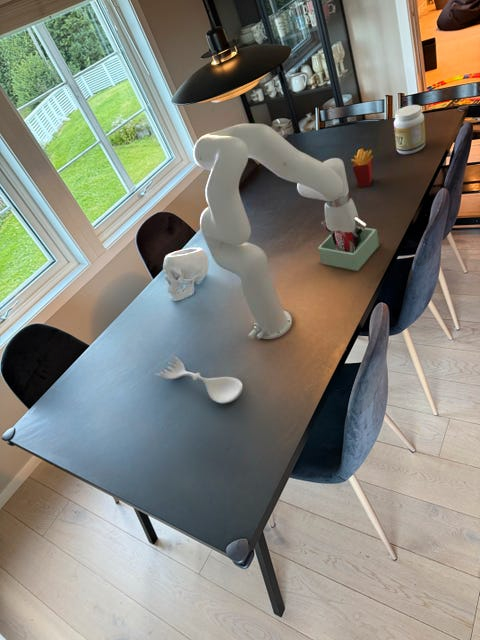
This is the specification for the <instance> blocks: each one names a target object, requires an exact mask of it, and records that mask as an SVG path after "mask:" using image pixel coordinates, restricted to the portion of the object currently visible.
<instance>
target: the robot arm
mask: <svg viewBox="0 0 480 640" xmlns="http://www.w3.org/2000/svg"><path fill="white" fill-rule="evenodd" d="M192 155H193V159H194V162H195V163H196V165H197V166H198V167H200V168H201V169H203V170H206V171H210V173H209V176H208V179H207V182H206V186H205V199H206V202H207V205H208V206H207V207H205V209H204V210H203V211H202V213H201V215H200V220H199V227H200V232H201V234H202V237H203V240H204V242H205V244H206V246H207V248H208V251H209V253H210V255H211V257H212V259H213V261H214V262H215V264H216V265H217V266H219V267H220V268H222V269H224V270H226V271H229V272H231V273H232V274H235V275H236V276H238V278H239V279H240V289H241V292H242V294H243V297H244V299H245V301H246V303H247V306H248V308H249V310H250V312H251V315H252V316H253V319H254V322H253V330H252V331H250V332H249V333H248V335H247V338H249V340H251V341H253V340H254V339H255V338H257V339H258V340H260V339H263V340H275V339H277V338H280V337H282V336H283V335H285V334H286V333H287V332H288V331H289V330H290V329H291V327H292V325H293V319H292V316H291V314H290V312H288V311H287V310H284V308H283V306H282V303H281V300H280V297H279V295H278V292H277V289H276V286H275V284H274V282H273V279H272V277H271V272H270V268H269V262H268V257H267V255H266V252H265V251H264V250H263V249H262V248H261V247H259V246H258V245H256V244H254V243H251V242H248V241H249V239H250V238H251V234H252V228H251V224H250V221H249V218H248V215H247V212H246V209H245V207H244V204H243V201H242V198H241V194H240V188H239V187H240V181H241V177H242V175H243V173H244V171H245V169H246V167H247V164H248V161H249V159H252V160H255V161H256V162H258V163H259V164H261V165H262V166H264V167H265V168H266V169H268V170H269V171H270V172H272V173H273V174H275V175H276V176H277V177H278V178H281V179H283V180H285V181H288V182H292V183H295V184H297V186H296V190H297V192H298V194H299V195H300V196H302V197H304V198H308V199H313V200H320V201H325V203H324V218H325V219H324V220H323V221H322V222H321V225H322V226H323V227H324V228H325V230H326V231H327V232H328V233H329V235H332V237H333V241H334V244H335V245H336V244H337V242H336V238H335V233H334V231H342V232H352V234H353V235H354V237H353V240H354V245H355V247H357V246H358V245H359V243H360V242H361V237H360V233H362V231H363V230H364V229H365V228H367V226H368V225H367V223H366V222H364V221H363V220H361V219H360V218H359V214H358V210H357V207H356V204H355V202H354V200H353V198H351V195H350V190H349V184H348V179H347V178H348V177H347V174H346V168H345V164H344V163H345V162H344V161H343V160H342V159H341V158H338V157H332V158H329V159H326V160H324V161H320V160H318V159H316V158H314V157H312V156H311V155H309V154H307V153H305V152H302V151H300V150H298V149H297V148H296V147H294V145H292V144H291V143H290V142H289V141H287V139H285V138H284V137H283V136H282V135H281V134H279V133H278V132H277V131H276V130H275V129H274V128H272V127H271V126H269V125H267V124H264V123H239V124H235V125H233V126H229V127H225V128H223V129H220V130H217V131H213V132H210V133H207V134H205V135H202V136H201V137H199V138H198V139H197V141H196V142H195V144H194V146H193V151H192ZM359 227H360V229H359ZM339 229H340V230H339ZM355 230H356V231H357V232H356V231H355Z"/></svg>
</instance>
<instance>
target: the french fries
mask: <svg viewBox="0 0 480 640" xmlns="http://www.w3.org/2000/svg"><path fill="white" fill-rule="evenodd" d="M372 152H373V150H372V149H369V150H368V149H367V150H364V148H360V149H358V151H357V153H356V155H353V158H351V160H350V161H351V162H352V163H353V165H352V169H353V173H354V176H355V181H356V183H357V187H358V188H362V187H370V186H371V184H372V180H373V173H372V159H373V158H374V155H372Z"/></svg>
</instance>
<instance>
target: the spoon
mask: <svg viewBox="0 0 480 640" xmlns="http://www.w3.org/2000/svg"><path fill="white" fill-rule="evenodd" d="M170 356H171V358H169V360H170V361H171V362H170V361H167V363H168V364H169V365H170V366H169V365H165V366H164V367H165V368H166V369H167V370H166V369H164V368H161V370H162V371H160V370H159V371H158V373H155V375H156V376H157V377H159V378H163V379H167V380H176V379H179V378H182V377H186V376H187V377H191V378H192V381H194V382H196V381H202V382H203V384H204V386H205V388H206V389H205V390H206V392H207V394H208V396H209V398H210V399H211V400H212V401H214V402H215V403H219V404H227V403H231V402H234V401H235V400H236V399H238V398H239V396H240V395H241V394H242V391H243V383H242V382H241V380H240V379H238V378H236V377H232V376H220V377H211V378H207V377H202V376H201V372H197V373H195V372H190V371H187V370H186V367H185V363H184V362H183V361H181V359H179V358H178V357H176V356H175V355H174V354H170Z"/></svg>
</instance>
